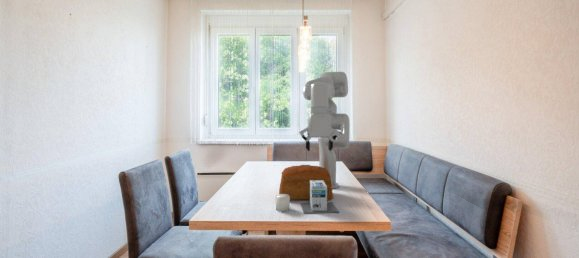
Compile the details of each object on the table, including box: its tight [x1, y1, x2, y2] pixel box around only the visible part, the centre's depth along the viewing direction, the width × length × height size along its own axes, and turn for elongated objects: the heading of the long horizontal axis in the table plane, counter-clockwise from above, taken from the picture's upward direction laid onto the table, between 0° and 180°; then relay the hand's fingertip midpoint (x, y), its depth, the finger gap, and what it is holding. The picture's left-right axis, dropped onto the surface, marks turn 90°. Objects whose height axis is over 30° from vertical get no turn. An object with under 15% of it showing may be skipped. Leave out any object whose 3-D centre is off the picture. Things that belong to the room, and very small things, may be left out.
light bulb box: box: [309, 180, 328, 211], centre depth 120 cm, size 11×7×11 cm, turn 1°
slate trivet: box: [299, 201, 340, 215], centre depth 121 cm, size 12×15×1 cm
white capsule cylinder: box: [275, 193, 291, 213], centre depth 119 cm, size 6×6×6 cm
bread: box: [278, 164, 334, 201], centre depth 138 cm, size 16×27×16 cm, turn 89°
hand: (319, 150), depth 119 cm, fingers open, 9 cm apart
